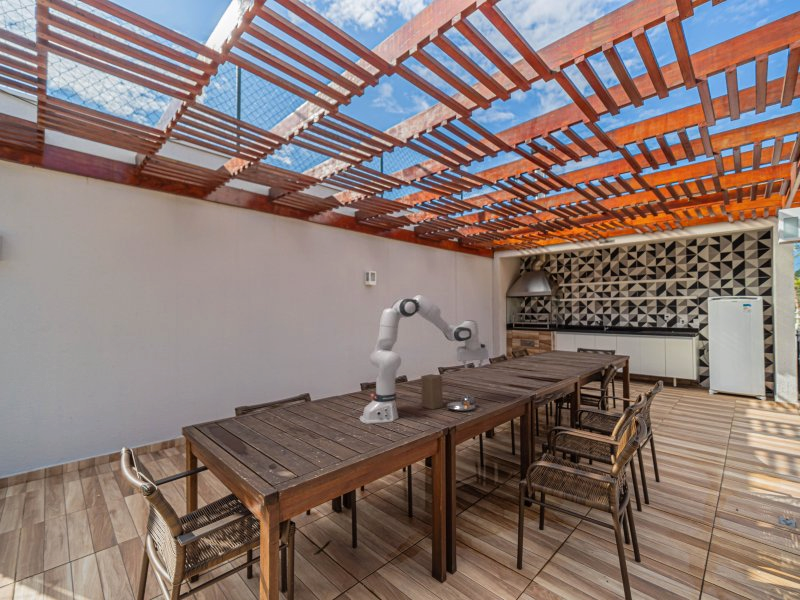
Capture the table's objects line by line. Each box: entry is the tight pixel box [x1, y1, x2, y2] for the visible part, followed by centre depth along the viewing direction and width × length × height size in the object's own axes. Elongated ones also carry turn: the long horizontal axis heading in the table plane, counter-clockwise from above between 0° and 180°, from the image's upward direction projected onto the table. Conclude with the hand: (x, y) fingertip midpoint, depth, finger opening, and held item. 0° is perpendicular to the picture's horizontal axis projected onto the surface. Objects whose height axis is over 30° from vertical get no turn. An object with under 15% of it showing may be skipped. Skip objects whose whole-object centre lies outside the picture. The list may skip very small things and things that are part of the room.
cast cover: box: [460, 394, 475, 405], centre depth 225 cm, size 8×8×5 cm
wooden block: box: [420, 373, 444, 411], centre depth 230 cm, size 10×10×20 cm
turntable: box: [446, 401, 476, 411], centre depth 224 cm, size 17×17×6 cm
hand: (473, 367), depth 228 cm, fingers open, 8 cm apart
